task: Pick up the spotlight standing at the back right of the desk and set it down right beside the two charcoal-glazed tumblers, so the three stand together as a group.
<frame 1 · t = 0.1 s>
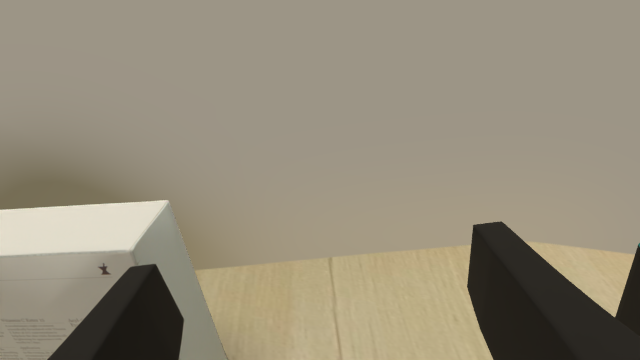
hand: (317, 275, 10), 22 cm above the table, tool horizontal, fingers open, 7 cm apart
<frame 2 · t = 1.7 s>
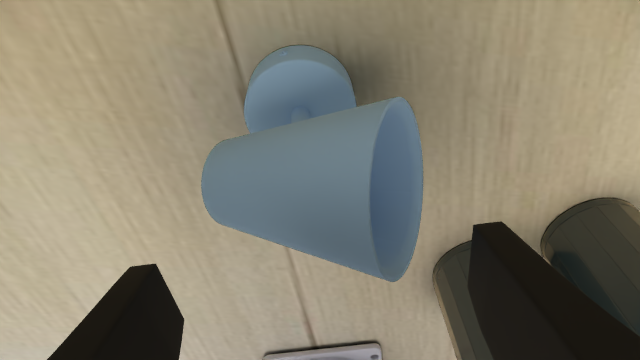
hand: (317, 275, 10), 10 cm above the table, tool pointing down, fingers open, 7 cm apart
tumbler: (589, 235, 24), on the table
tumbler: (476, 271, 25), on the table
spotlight: (310, 92, 18), on the table
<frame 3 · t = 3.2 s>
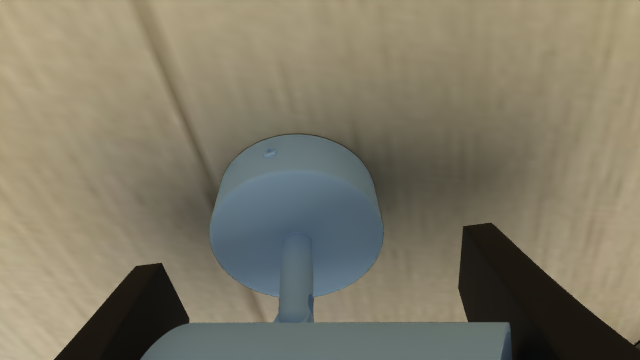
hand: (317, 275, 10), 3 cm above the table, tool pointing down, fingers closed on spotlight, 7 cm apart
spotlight: (312, 194, 12), on the table, touching gripper
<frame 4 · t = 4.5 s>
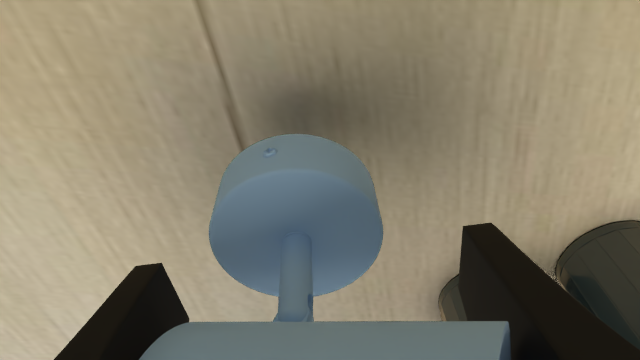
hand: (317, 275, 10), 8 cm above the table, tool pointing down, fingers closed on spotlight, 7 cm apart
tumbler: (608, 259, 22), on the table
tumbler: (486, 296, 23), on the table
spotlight: (312, 194, 12), point 5 cm above the table, touching gripper
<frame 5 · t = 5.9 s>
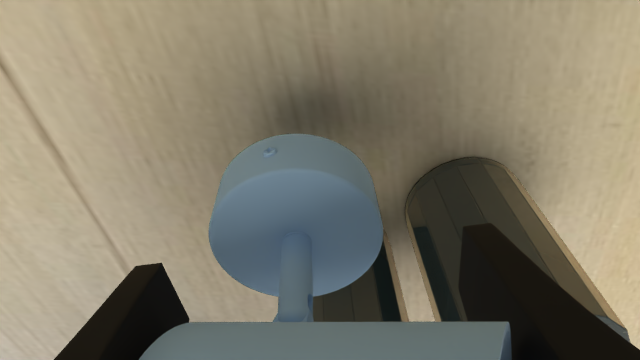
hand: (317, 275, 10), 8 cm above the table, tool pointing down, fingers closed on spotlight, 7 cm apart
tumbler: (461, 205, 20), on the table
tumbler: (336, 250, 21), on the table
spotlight: (312, 194, 12), point 5 cm above the table, touching gripper
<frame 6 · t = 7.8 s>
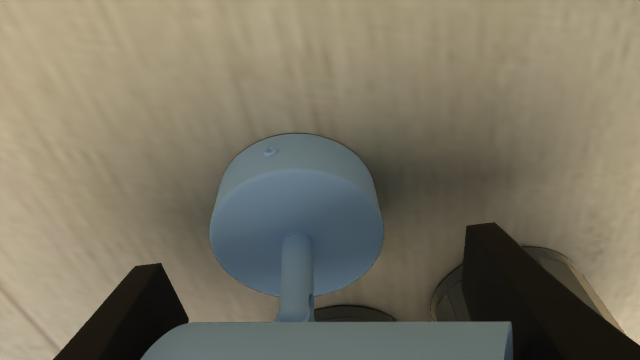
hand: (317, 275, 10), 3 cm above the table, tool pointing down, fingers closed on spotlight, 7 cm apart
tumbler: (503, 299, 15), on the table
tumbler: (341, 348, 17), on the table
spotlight: (312, 194, 12), on the table, touching gripper
when the fingers open (3 cm above the table, at t = 7.8 s): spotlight stays where it is, on the table.
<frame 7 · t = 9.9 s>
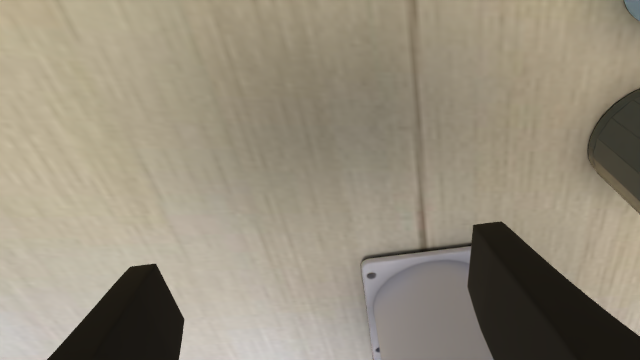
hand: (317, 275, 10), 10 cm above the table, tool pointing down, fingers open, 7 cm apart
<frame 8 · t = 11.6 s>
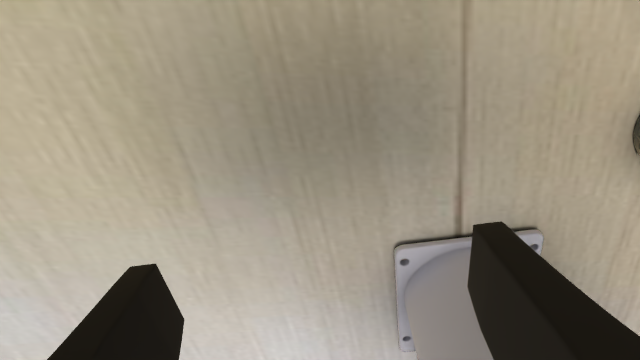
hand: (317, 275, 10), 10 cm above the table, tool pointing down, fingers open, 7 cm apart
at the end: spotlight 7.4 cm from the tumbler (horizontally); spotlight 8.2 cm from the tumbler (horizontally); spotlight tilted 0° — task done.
